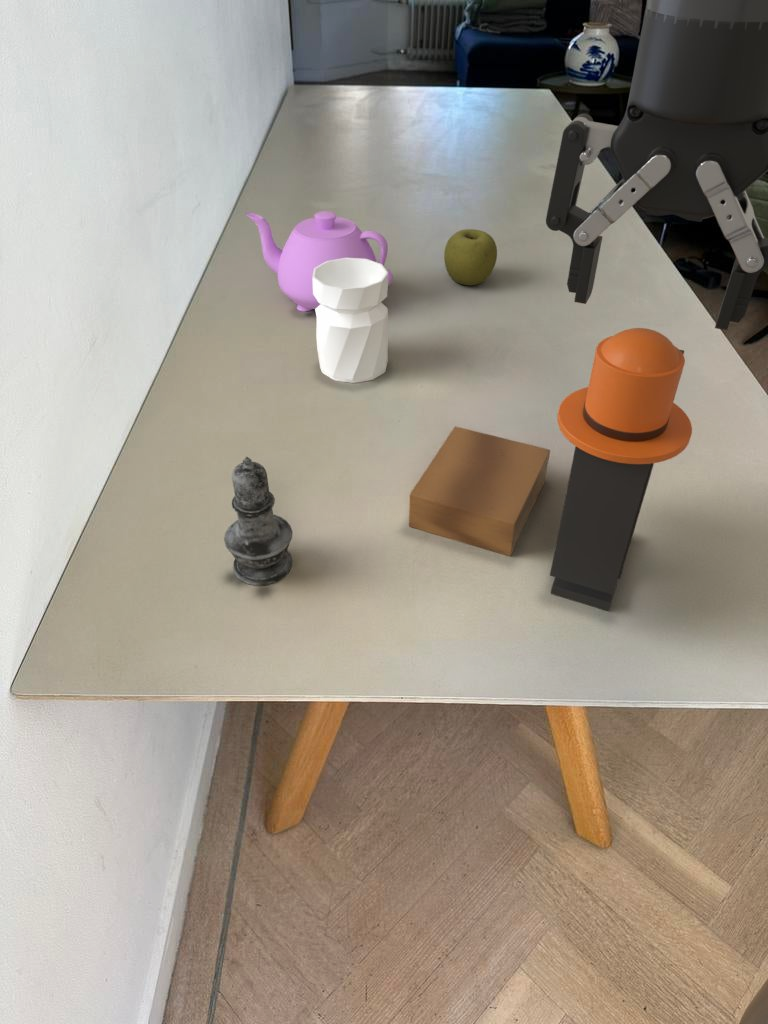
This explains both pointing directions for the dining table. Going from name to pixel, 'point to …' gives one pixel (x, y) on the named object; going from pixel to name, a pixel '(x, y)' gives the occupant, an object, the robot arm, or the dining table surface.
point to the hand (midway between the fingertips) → (650, 311)
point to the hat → (629, 401)
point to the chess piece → (257, 529)
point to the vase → (351, 319)
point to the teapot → (315, 252)
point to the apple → (470, 256)
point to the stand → (479, 490)
